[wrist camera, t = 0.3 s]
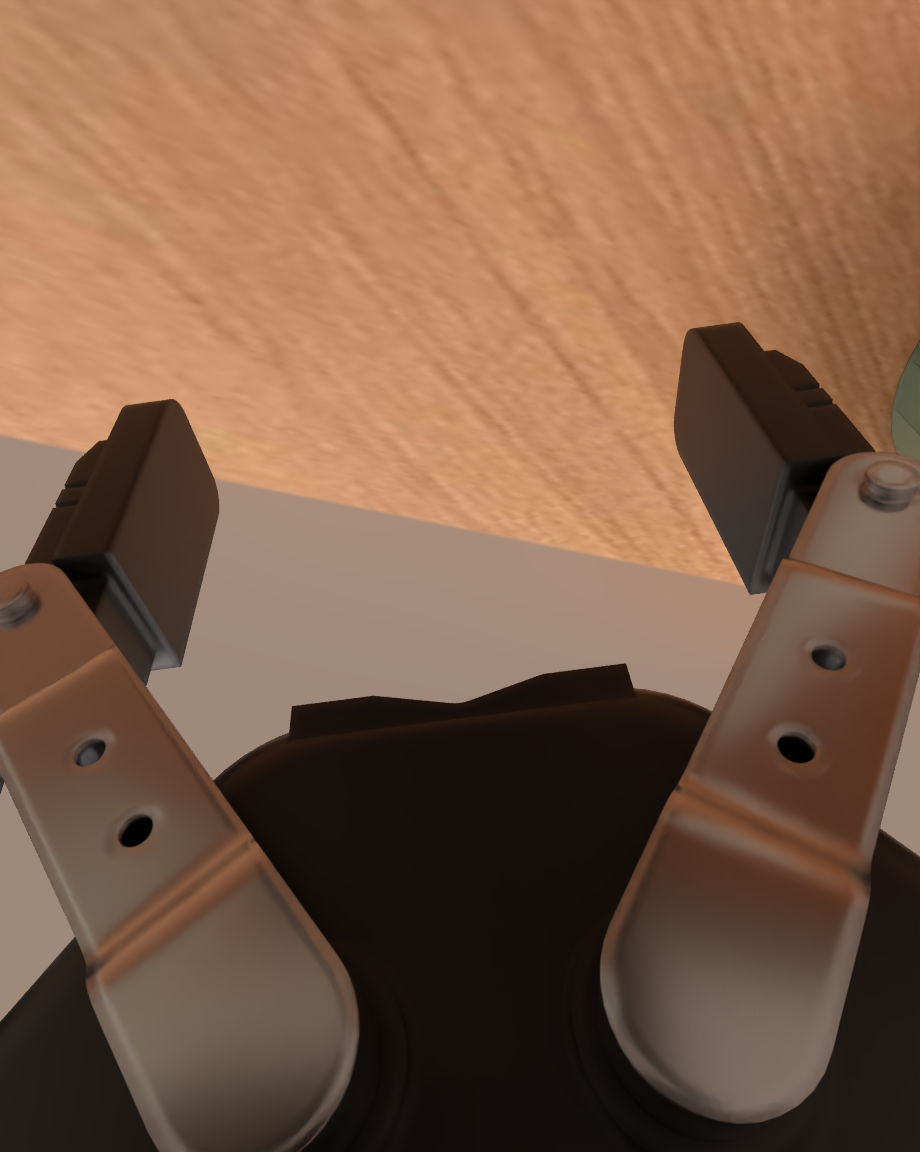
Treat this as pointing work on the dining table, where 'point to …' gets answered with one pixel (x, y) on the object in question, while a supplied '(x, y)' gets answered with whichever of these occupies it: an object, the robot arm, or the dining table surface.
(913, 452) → the tin
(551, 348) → the dining table surface
